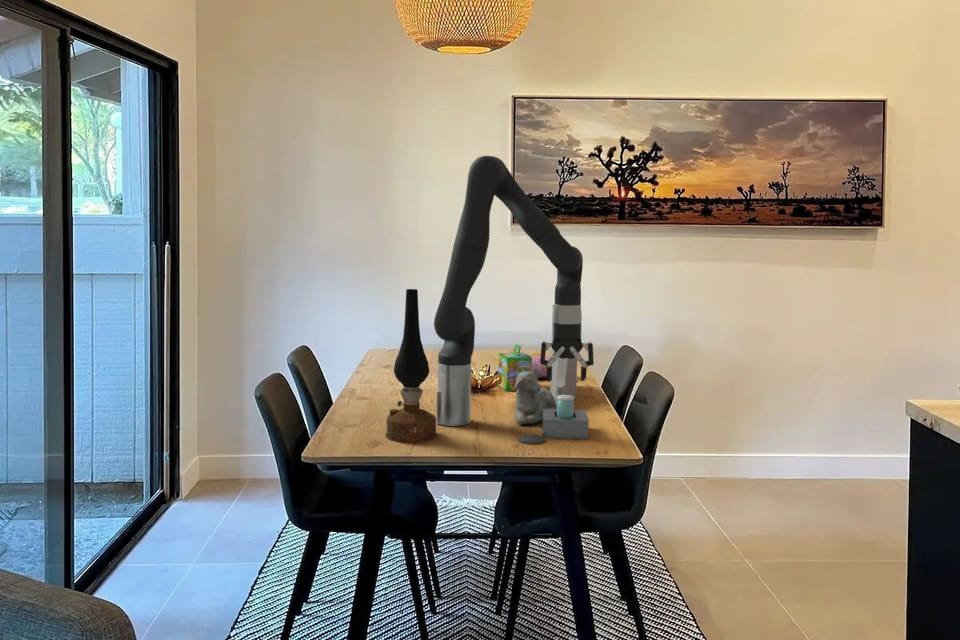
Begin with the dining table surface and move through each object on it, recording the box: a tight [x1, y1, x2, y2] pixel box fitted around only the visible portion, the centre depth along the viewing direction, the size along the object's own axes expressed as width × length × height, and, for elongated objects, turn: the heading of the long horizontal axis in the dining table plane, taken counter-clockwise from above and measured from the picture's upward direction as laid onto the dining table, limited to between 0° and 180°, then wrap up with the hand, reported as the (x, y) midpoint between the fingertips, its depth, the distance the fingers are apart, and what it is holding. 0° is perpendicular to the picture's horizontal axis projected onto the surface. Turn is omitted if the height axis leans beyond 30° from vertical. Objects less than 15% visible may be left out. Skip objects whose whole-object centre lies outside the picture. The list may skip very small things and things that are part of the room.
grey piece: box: [549, 303, 578, 405], centre depth 272 cm, size 36×8×30 cm, turn 171°
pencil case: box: [531, 355, 551, 380], centre depth 302 cm, size 21×9×9 cm, turn 98°
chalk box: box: [497, 344, 533, 392], centre depth 286 cm, size 9×9×15 cm
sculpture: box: [514, 371, 557, 425], centre depth 246 cm, size 11×21×15 cm, turn 167°
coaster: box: [517, 434, 546, 445], centre depth 223 cm, size 7×7×1 cm
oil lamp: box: [385, 288, 438, 444], centre depth 224 cm, size 14×15×40 cm
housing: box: [541, 409, 590, 440], centre depth 231 cm, size 12×12×5 cm
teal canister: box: [557, 395, 575, 417], centre depth 231 cm, size 5×5×10 cm
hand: (566, 380), depth 229 cm, fingers open, 8 cm apart
